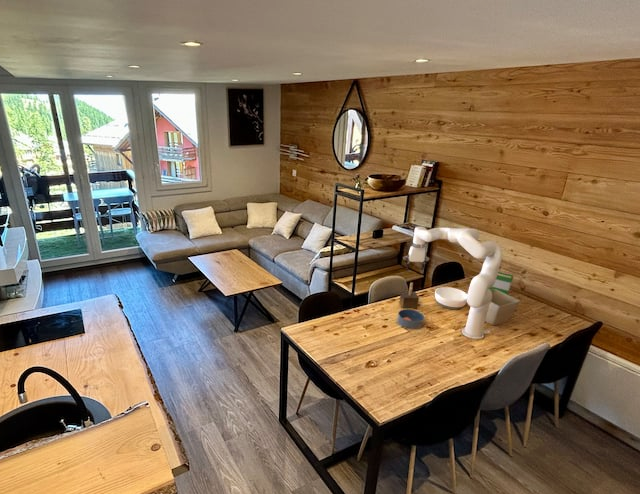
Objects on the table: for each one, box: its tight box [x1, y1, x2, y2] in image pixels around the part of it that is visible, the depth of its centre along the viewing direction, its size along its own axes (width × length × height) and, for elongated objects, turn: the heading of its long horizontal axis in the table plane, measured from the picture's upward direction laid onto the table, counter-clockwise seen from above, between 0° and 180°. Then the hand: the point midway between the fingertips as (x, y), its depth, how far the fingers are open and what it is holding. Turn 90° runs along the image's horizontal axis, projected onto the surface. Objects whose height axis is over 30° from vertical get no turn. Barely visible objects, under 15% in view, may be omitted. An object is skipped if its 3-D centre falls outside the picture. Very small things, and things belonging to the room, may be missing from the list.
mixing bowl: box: [396, 308, 425, 330], centre depth 254 cm, size 16×16×6 cm
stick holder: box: [398, 290, 420, 310], centre depth 275 cm, size 10×10×9 cm
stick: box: [408, 281, 414, 296], centre depth 274 cm, size 2×2×18 cm
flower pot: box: [485, 289, 521, 326], centre depth 258 cm, size 19×19×17 cm
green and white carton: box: [488, 271, 515, 295], centre depth 277 cm, size 18×7×24 cm, turn 52°
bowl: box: [434, 286, 468, 311], centre depth 279 cm, size 22×22×8 cm
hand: (414, 269), depth 266 cm, fingers open, 9 cm apart
